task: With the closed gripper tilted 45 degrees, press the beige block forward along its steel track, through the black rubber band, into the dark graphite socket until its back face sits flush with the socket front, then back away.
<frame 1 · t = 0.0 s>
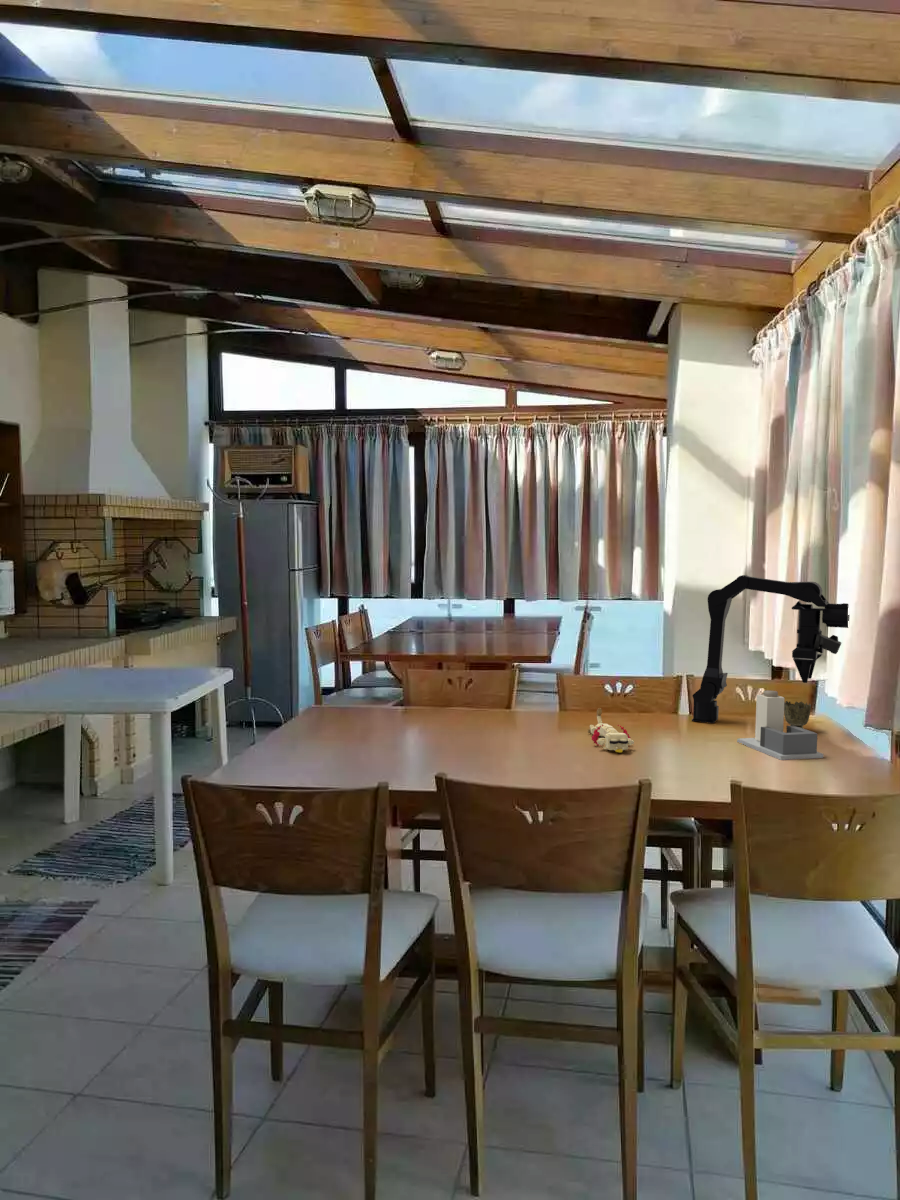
hand: (807, 680, 257), 15 cm above the table, tool pointing down, fingers open, 9 cm apart
cup: (796, 731, 259), on the table
cat figure: (608, 745, 239), on the table
beige block: (769, 716, 239), point 8 cm above the table, slide at 0.0 cm
socket: (783, 751, 233), on the table
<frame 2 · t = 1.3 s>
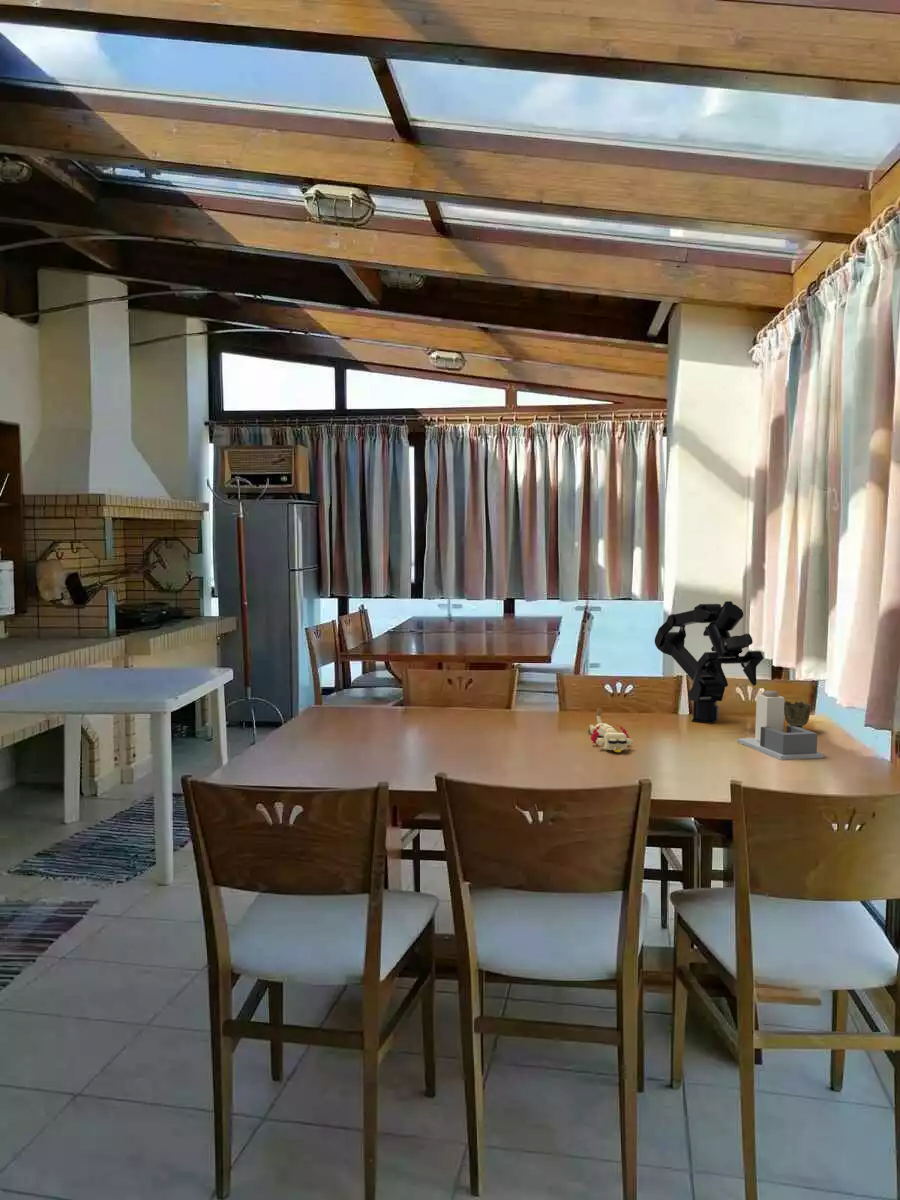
hand: (741, 685, 254), 14 cm above the table, tool tilted 40°, fingers open, 9 cm apart
nothing on the table moved.
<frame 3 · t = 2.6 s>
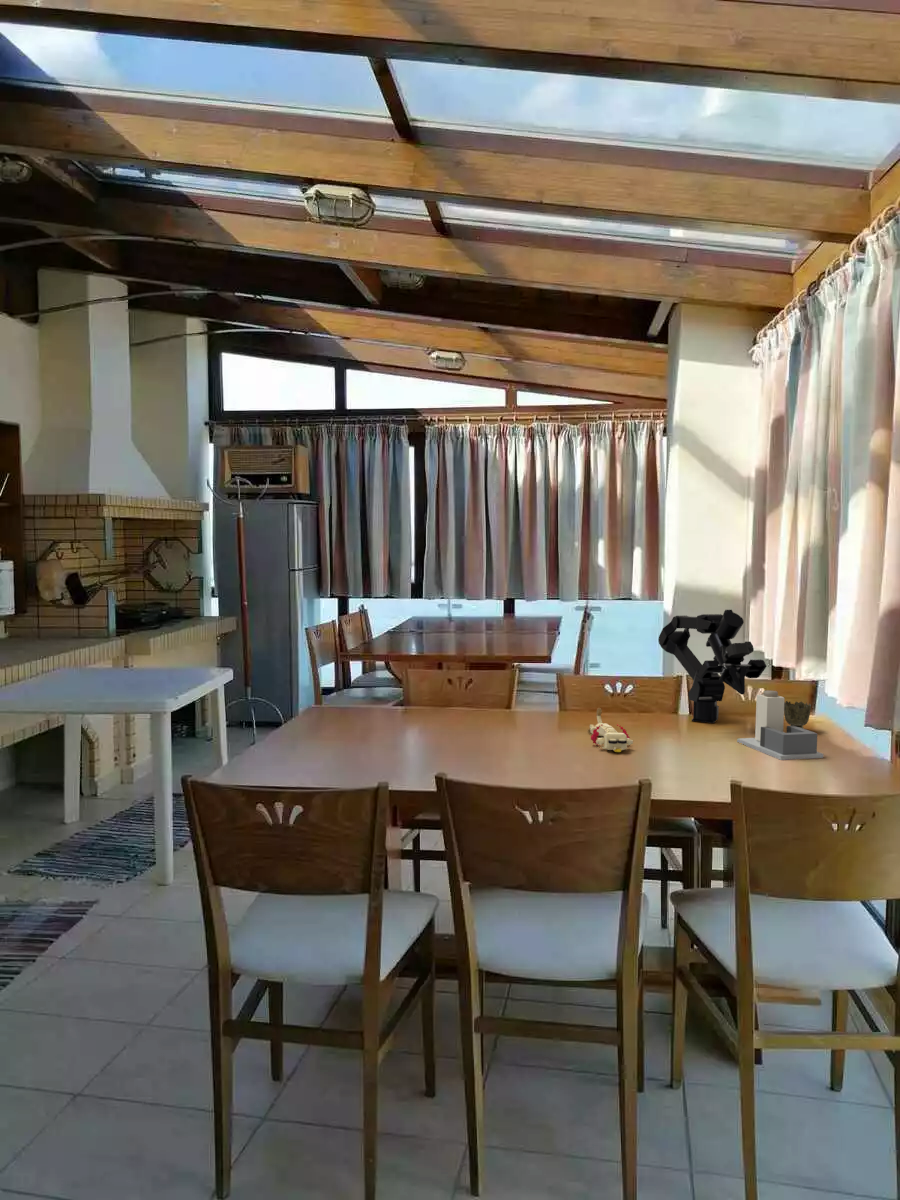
hand: (743, 693, 251), 12 cm above the table, tool tilted 45°, fingers closed
nothing on the table moved.
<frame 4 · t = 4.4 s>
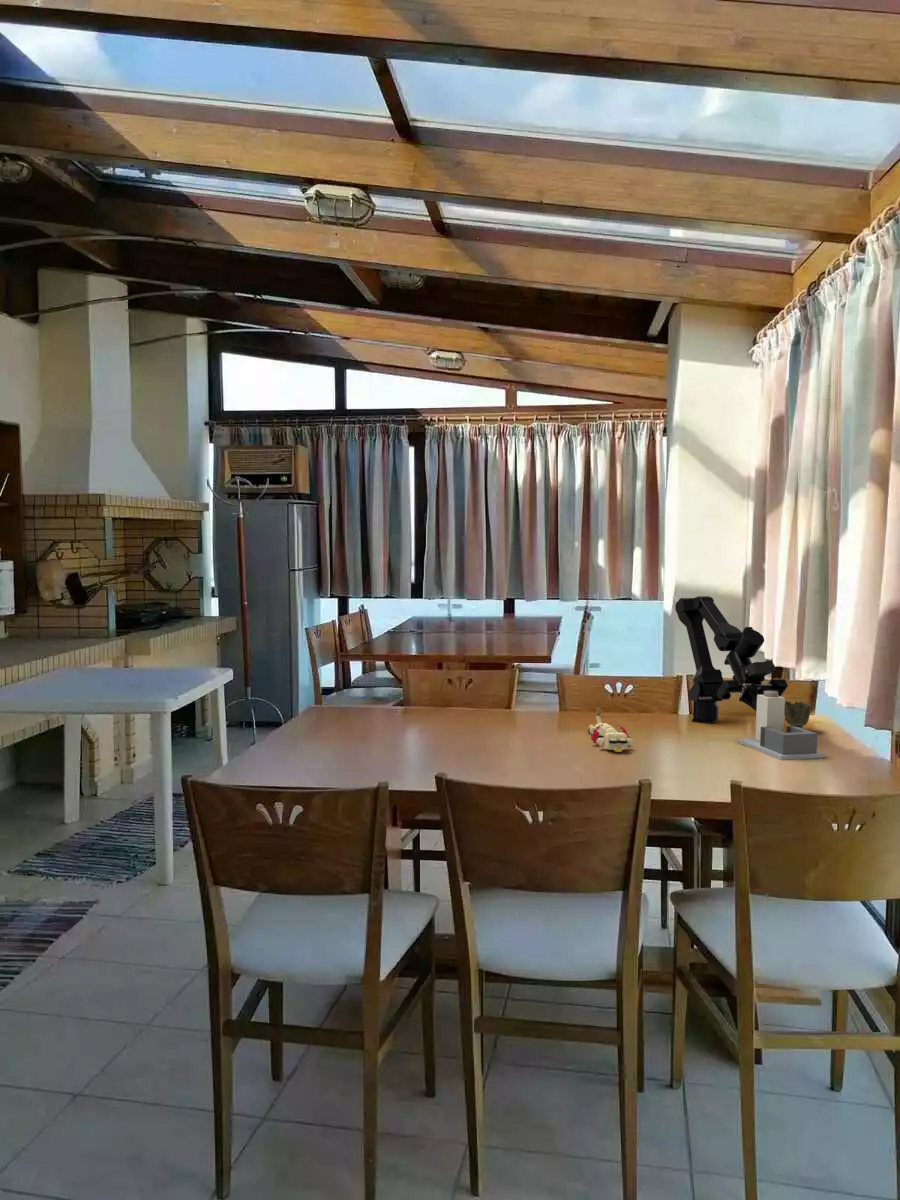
hand: (764, 714, 241), 8 cm above the table, tool tilted 45°, fingers closed, pressing on beige block
beige block: (770, 716, 238), point 8 cm above the table, slide at 0.2 cm, touching gripper
everything else where it was.
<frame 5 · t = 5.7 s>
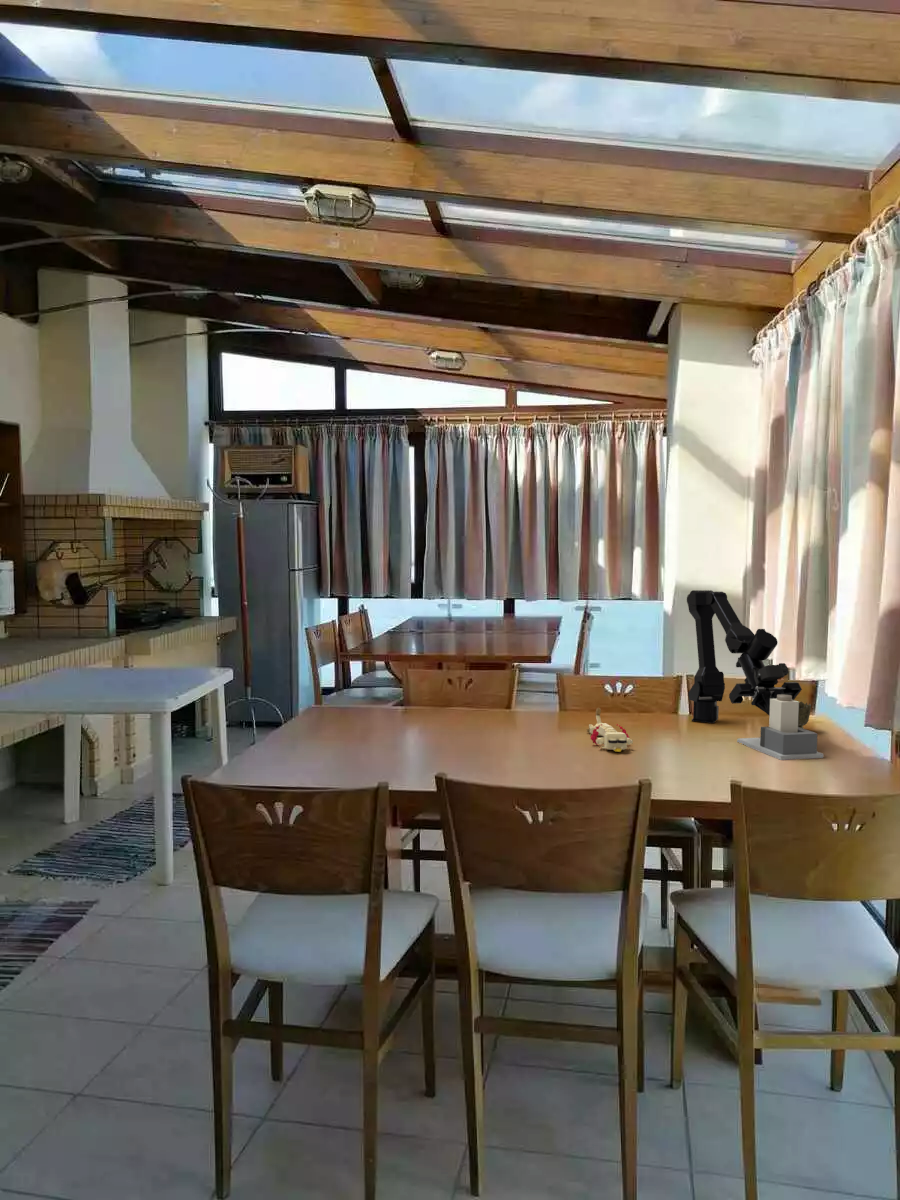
hand: (777, 719, 235), 8 cm above the table, tool tilted 45°, fingers closed, pressing on beige block
beige block: (783, 720, 233), point 8 cm above the table, slide at 6.2 cm, touching gripper
everything else where it was.
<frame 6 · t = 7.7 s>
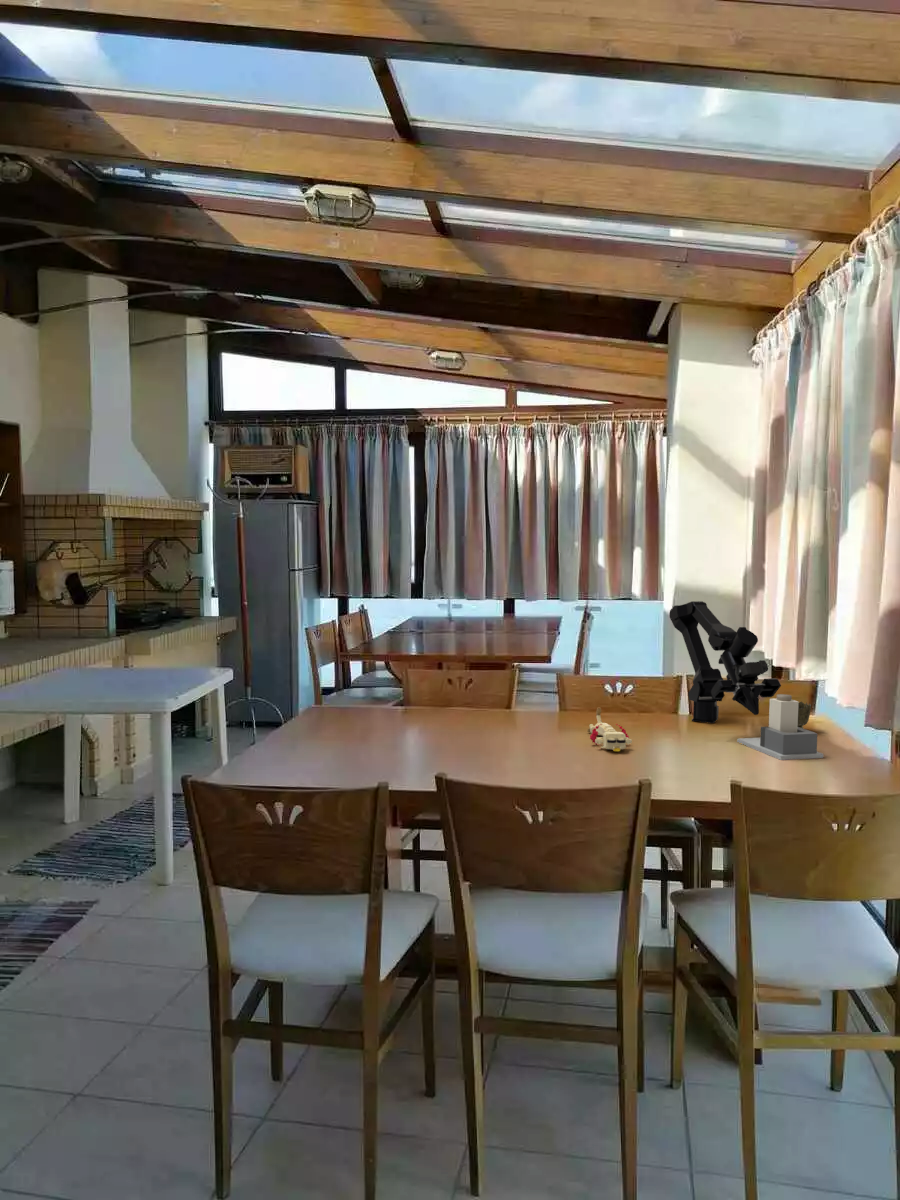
hand: (756, 714, 244), 7 cm above the table, tool tilted 45°, fingers closed
beige block: (783, 720, 233), point 8 cm above the table, slide at 6.0 cm
everything else where it was.
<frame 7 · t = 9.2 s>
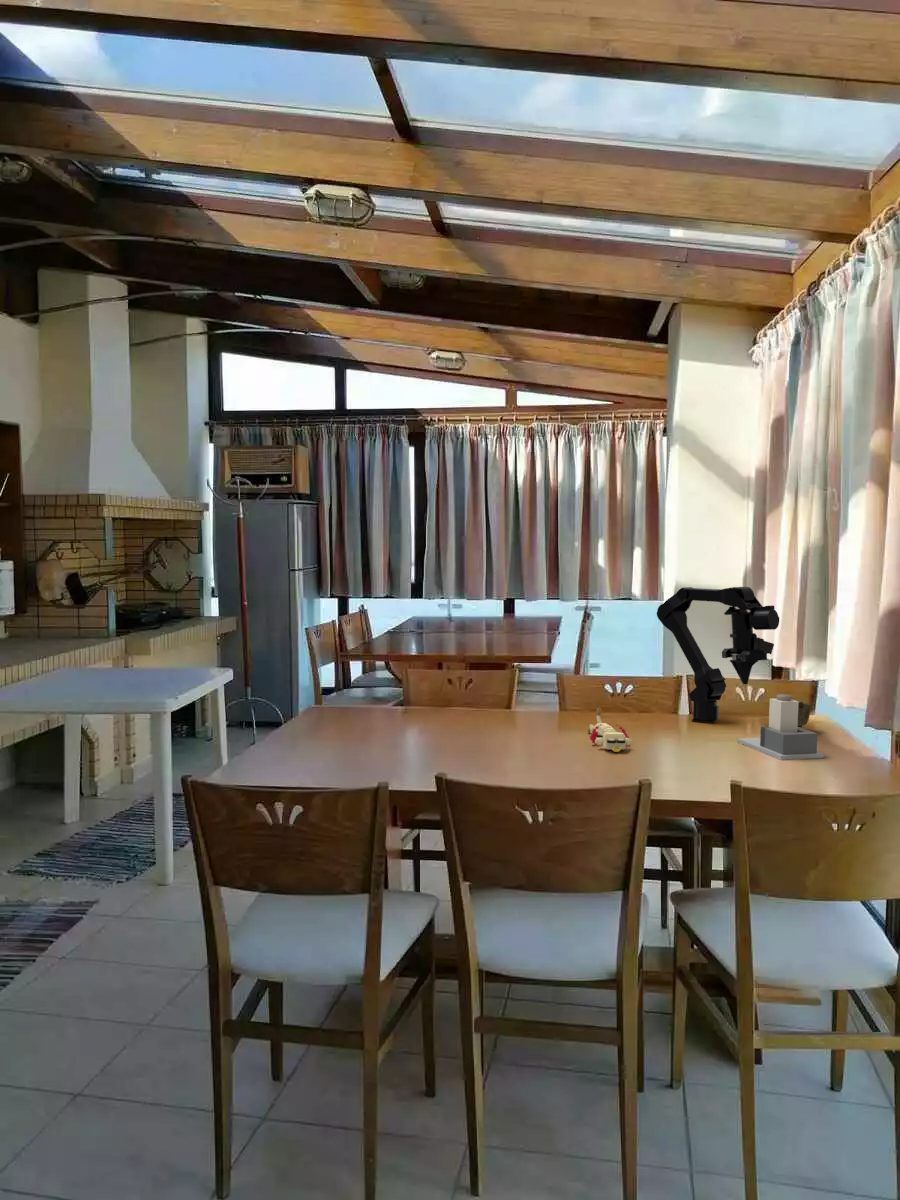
hand: (745, 684, 260), 13 cm above the table, tool pointing down, fingers closed
nothing on the table moved.
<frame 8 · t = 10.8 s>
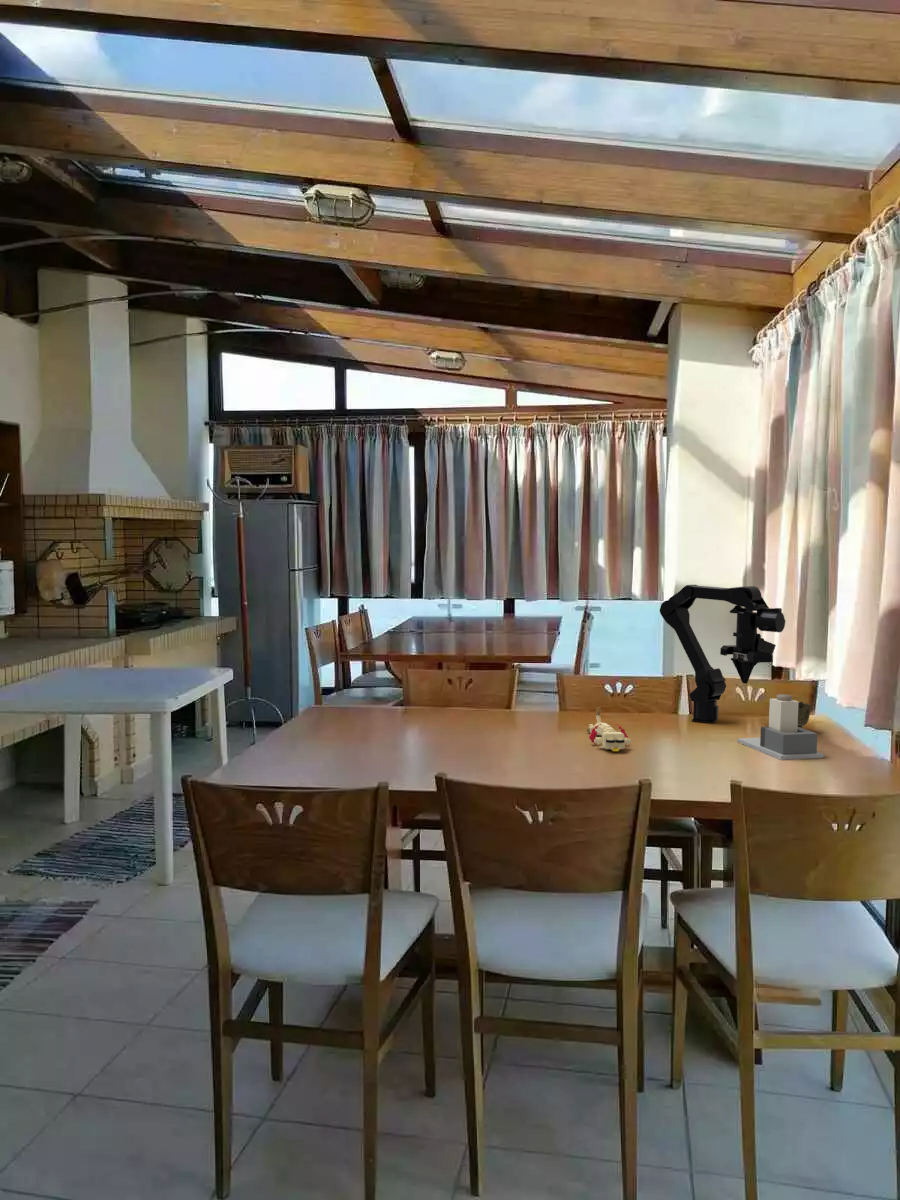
hand: (744, 683, 262), 13 cm above the table, tool pointing down, fingers closed
at the end: beige block slide at 6.0 cm; cat figure moved 1.2 cm from its start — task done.
